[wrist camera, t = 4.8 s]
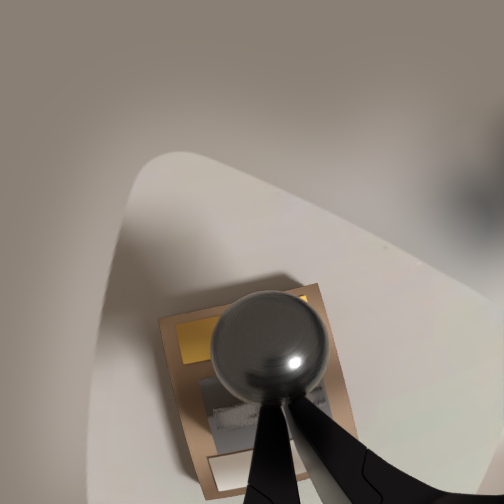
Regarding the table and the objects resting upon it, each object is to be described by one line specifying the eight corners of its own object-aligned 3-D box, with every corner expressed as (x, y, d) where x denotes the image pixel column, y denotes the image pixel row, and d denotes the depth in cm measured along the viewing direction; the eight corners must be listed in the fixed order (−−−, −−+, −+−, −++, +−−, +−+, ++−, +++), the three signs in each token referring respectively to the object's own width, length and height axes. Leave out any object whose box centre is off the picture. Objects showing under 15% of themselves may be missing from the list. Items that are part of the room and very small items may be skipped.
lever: (328, 424, 13) (402, 348, 6) (224, 451, 12) (163, 413, 5) (310, 370, 15) (348, 245, 8) (211, 394, 14) (150, 289, 7)
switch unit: (352, 451, 17) (381, 472, 13) (208, 488, 16) (200, 521, 12) (310, 290, 21) (330, 269, 17) (165, 322, 20) (144, 310, 15)
